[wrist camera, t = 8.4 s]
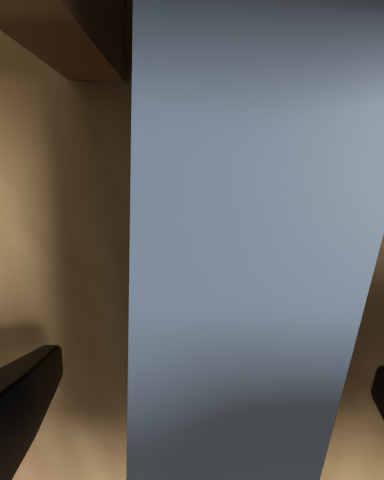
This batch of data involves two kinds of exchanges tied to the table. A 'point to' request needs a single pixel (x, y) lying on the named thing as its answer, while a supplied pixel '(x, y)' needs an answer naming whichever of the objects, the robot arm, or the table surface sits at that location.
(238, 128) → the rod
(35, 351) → the robot arm
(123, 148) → the table surface
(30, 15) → the wooden arch
